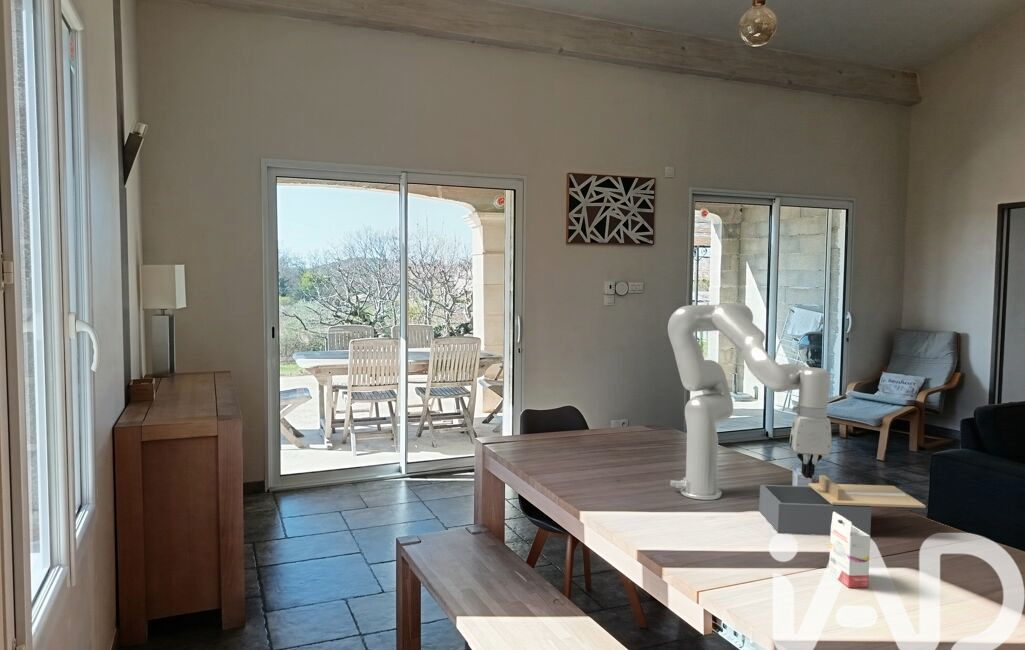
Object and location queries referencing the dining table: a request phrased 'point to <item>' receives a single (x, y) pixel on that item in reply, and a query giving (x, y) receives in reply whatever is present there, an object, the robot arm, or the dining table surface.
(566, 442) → the dining table surface
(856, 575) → the ink cartridge box
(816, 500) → the box
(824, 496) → the lid
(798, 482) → the medicine box
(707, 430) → the robot arm
